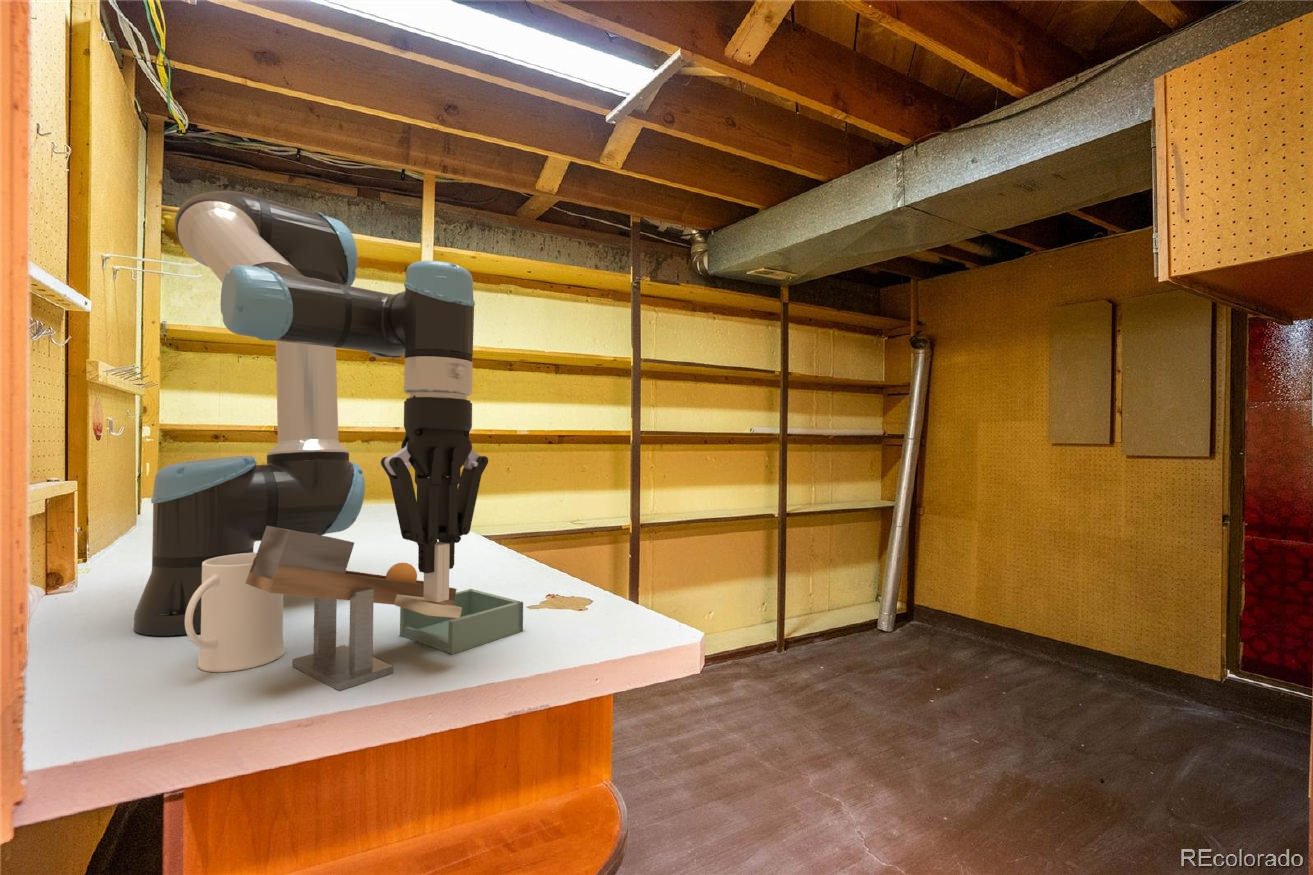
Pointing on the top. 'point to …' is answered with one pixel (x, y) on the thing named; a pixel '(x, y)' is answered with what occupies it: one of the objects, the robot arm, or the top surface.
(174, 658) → the top surface
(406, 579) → the ball
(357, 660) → the stand
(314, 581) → the lever
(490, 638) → the tray
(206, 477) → the robot arm
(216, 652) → the mug
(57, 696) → the top surface
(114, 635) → the top surface
